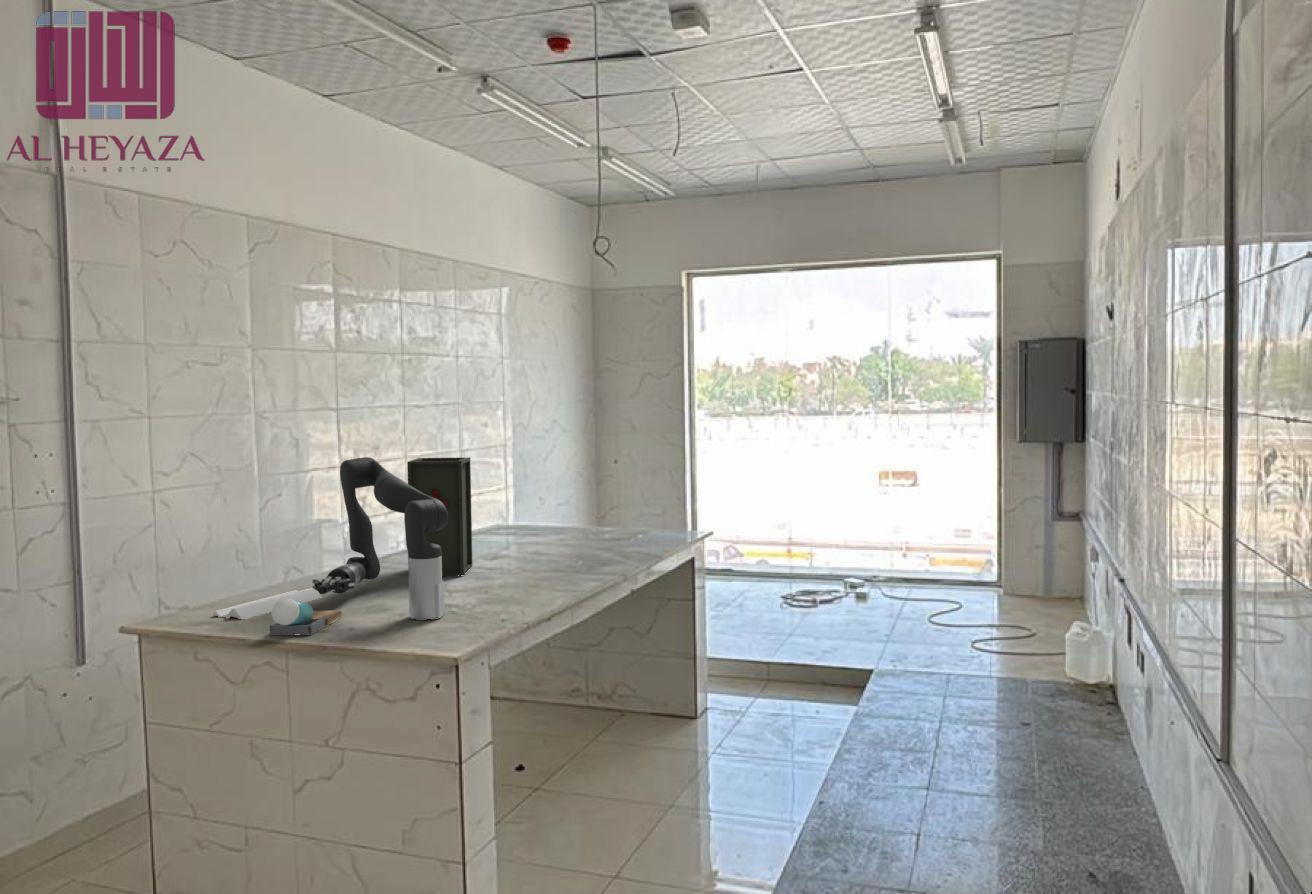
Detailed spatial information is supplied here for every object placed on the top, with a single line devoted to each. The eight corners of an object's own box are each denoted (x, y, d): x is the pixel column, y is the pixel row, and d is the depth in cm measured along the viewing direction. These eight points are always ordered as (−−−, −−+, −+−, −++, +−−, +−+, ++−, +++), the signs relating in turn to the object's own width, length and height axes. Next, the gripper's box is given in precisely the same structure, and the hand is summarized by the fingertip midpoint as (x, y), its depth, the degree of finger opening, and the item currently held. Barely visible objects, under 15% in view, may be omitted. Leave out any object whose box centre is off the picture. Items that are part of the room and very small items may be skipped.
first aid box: (472, 566, 346) (470, 457, 344) (463, 576, 328) (461, 461, 325) (421, 567, 346) (419, 457, 343) (410, 577, 327) (407, 461, 325)
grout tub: (315, 601, 257) (299, 598, 247) (312, 627, 256) (296, 625, 245) (290, 601, 258) (273, 598, 247) (287, 627, 256) (270, 624, 245)
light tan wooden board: (341, 617, 268) (341, 610, 268) (327, 626, 258) (327, 619, 258) (299, 617, 269) (299, 610, 269) (284, 626, 259) (284, 618, 259)
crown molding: (294, 597, 299) (293, 585, 299) (323, 600, 295) (323, 588, 295) (212, 618, 271) (212, 606, 271) (243, 622, 266) (243, 609, 266)
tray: (325, 626, 258) (325, 616, 258) (311, 635, 248) (310, 625, 248) (286, 626, 259) (286, 616, 259) (269, 635, 249) (269, 625, 249)
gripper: (322, 566, 287) (298, 577, 269) (365, 566, 286) (344, 577, 269) (322, 590, 287) (299, 603, 270) (365, 590, 287) (344, 603, 269)
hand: (321, 590), depth 269 cm, fingers closed
